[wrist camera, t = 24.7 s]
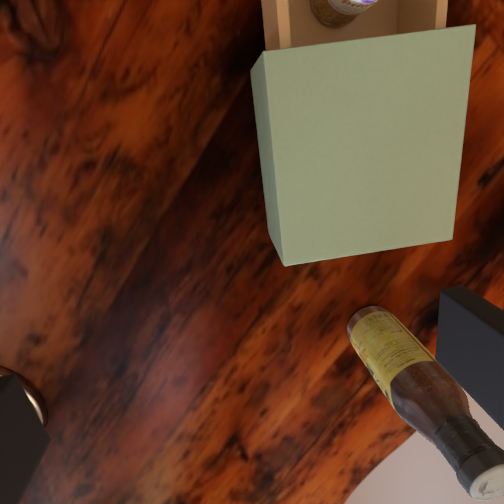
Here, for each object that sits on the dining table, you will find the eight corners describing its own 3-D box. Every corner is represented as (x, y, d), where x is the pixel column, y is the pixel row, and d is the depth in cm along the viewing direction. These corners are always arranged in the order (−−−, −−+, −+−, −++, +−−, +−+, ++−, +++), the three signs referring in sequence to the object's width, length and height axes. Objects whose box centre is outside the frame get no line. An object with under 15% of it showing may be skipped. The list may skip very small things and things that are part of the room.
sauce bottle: (335, 335, 42) (429, 503, 23) (361, 295, 40) (486, 443, 22) (376, 351, 43) (495, 520, 25) (403, 313, 42) (552, 465, 23)
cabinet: (250, 70, 30) (262, 50, 22) (407, 49, 31) (476, 23, 23) (268, 233, 36) (284, 266, 28) (399, 213, 37) (452, 239, 28)
